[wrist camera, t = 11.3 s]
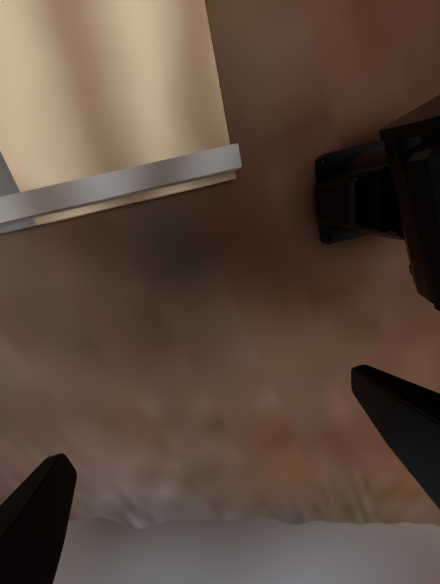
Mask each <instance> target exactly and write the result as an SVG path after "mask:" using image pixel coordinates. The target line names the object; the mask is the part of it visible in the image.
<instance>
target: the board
mask: <svg viewBox="0 0 440 584" xmlns="http://www.w3.org/2000/svg"><path fill="white" fill-rule="evenodd" d="M241 167H242V164H241V158H240V152H239V146H238V143H236V144H232V145H230V141H229V135H228V130H227V124H226V119H225V113H224V107H223V102H222V96H221V91H220V85H219V79H218V74H217V68H216V62H215V57H214V51H213V46H212V40H211V34H210V29H209V23H208V18H207V12H206V6H205V1H204V0H0V235H1V234H5V233H10V232H14V231H18V230H22V229H27V228H31V227H35V226H39V225H44V224H48V223H52V222H56V221H61V220H65V219H69V218H73V217H78V216H82V215H86V214H90V213H95V212H99V211H103V210H107V209H112V208H116V207H120V206H124V205H129V204H133V203H137V202H141V201H146V200H150V199H154V198H158V197H163V196H167V195H171V194H175V193H180V192H184V191H188V190H192V189H197V188H201V187H205V186H209V185H214V184H218V183H222V182H226V181H231V180H233V179H235V178H236V175H235V171H236V170H238V169H239V168H241Z"/></svg>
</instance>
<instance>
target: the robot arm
mask: <svg viewBox="0 0 440 584" xmlns="http://www.w3.org/2000/svg"><path fill="white" fill-rule="evenodd" d="M379 133H380V137H381V141H378V142H374V143H369V144H365V145H361V146H357V147H352V148H348V149H344V150H340V151H335V152H331V153H327V154H323V155H321V156H319V157H318V158H317V160H316V178H317V186H316V188H315V191H316V205H317V220H318V222H319V223H320V239H321V242H322V243H324V244H332V243H336V242H340V241H343V240H347V239H351V238H355V237H359V236H363V235H374V236H380V237H387V238H393V239H399V240H405V243H406V248H407V252H408V257H409V262H410V265H409V269H410V273H411V274H412V275H413V280H414V284H415V286H416V289H417V291H418V293H419V294H421V295H422V296H423V297H425V298H426V299H427V300H428V301H430V302H432V303H434V307H435V309H436V310H438V311H440V95H439V96H437V97H435V98H433V99H432V100H430V101H428V102H427V103H425V104H423V105H421V106H420V107H418V108H416V109H415V110H413V111H411V112H409V113H408V114H406V115H404V116H402V117H401V118H399V119H397V120H396V121H394V122H392V123H390V124H389V125H387V126H385V127H384V128H382V129H380V130H379ZM323 159H324V160H325V165H324V166H323V165H322V160H323ZM328 235H329V239H328V240H326V237H327V236H328ZM351 387H352V391H353V394H354V395H355V397H356V398H357V400H358V401H359V403H360V404H361V406H362V407H363V409H364V410H365V412H366V413H367V415H368V416H369V418H370V419H371V421H372V422H373V424H374V425H375V427H376V428H377V430H378V431H379V433H380V434H381V436H382V437H383V439H384V440H385V442H386V443H387V444H388V446H389V447H390V448H391V450H392V451H393V452H394V453H395V455H396V456H397V457H398V458H399V460H400V461H401V462H402V463H403V465H404V466H405V467H406V468H407V470H408V471H409V472H410V473H411V475H412V476H413V477H414V478H415V480H416V481H417V482H418V483H419V484H420V486H421V487H422V488H423V489H424V491H425V492H426V493H427V494H428V496H429V497H430V498H431V499H432V501H433V502H434V503H435V504H436V506H437V507H438V508H439V509H440V394H439V393H437V392H434V391H432V390H429V389H427V388H424V387H421V386H419V385H416V384H414V383H411V382H409V381H406V380H404V379H401V378H399V377H396V376H393V375H391V374H388V373H386V372H383V371H381V370H378V369H376V368H373V367H371V366H368V365H360V366H356V367H353V368H352V370H351ZM76 479H77V473H76V470H75V468H74V467H73V465H72V464H71V462H70V461H69V459H68V458H67V456H66V455H65V454H63V453H60V454H57V455H53V456H50V457H48V458H46V459H45V460H44V461H43V462H42V463H41V464H40V465H39V466H38V467H37V468H36V469H35V470H34V471H33V472H32V473H31V474H30V475H29V476H28V478H27V479H26V480H25V481H24V482H23V483H22V484H21V485H20V486H19V487H18V488H17V489H16V490H15V491H14V492H13V493H12V494H11V495H10V496H9V497H8V498H7V499H6V500H5V501H4V502H3V503H2V504H1V505H0V584H53V581H54V577H55V574H56V570H57V567H58V563H59V560H60V556H61V552H62V548H63V544H64V540H65V535H66V530H67V525H68V520H69V515H70V510H71V505H72V500H73V495H74V490H75V485H76Z"/></svg>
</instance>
